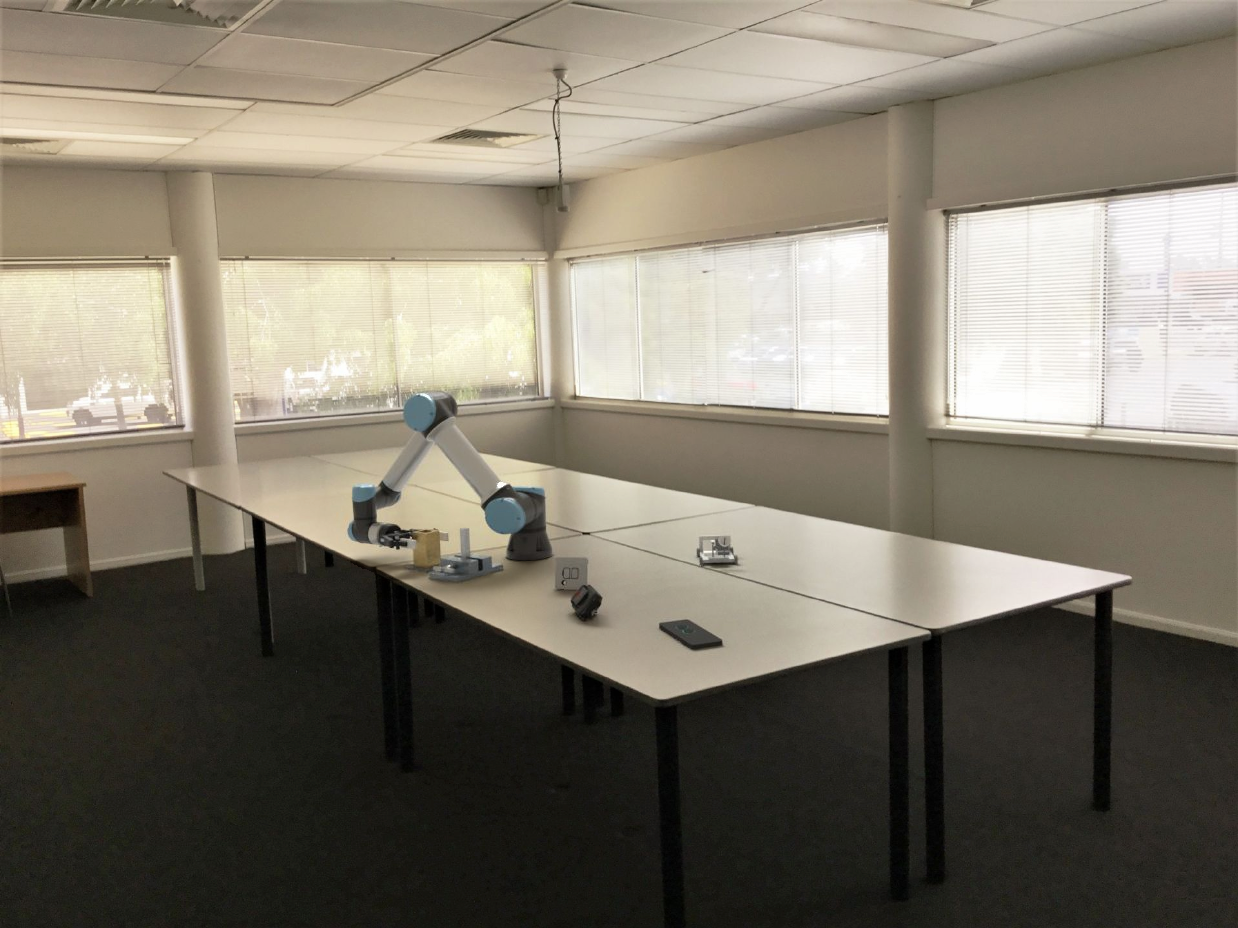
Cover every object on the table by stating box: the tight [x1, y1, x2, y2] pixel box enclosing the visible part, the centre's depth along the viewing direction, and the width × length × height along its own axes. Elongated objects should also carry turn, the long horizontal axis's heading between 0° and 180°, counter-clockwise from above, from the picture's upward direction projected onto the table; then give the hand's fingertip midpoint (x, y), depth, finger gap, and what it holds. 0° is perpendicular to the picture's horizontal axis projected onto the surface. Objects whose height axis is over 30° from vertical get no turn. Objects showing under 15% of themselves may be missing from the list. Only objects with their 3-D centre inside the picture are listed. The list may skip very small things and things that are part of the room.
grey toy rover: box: [696, 534, 739, 566], centre depth 324 cm, size 18×10×12 cm
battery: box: [570, 584, 603, 621], centre depth 267 cm, size 12×8×7 cm
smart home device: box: [658, 618, 724, 651], centre depth 247 cm, size 8×2×20 cm
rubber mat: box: [404, 564, 441, 573], centre depth 328 cm, size 10×10×1 cm
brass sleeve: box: [411, 528, 442, 568], centre depth 327 cm, size 6×6×11 cm
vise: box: [428, 527, 504, 584], centre depth 317 cm, size 20×12×14 cm, turn 144°
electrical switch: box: [554, 556, 589, 591], centre depth 296 cm, size 9×5×9 cm, turn 78°
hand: (432, 540), depth 325 cm, fingers open, 13 cm apart
